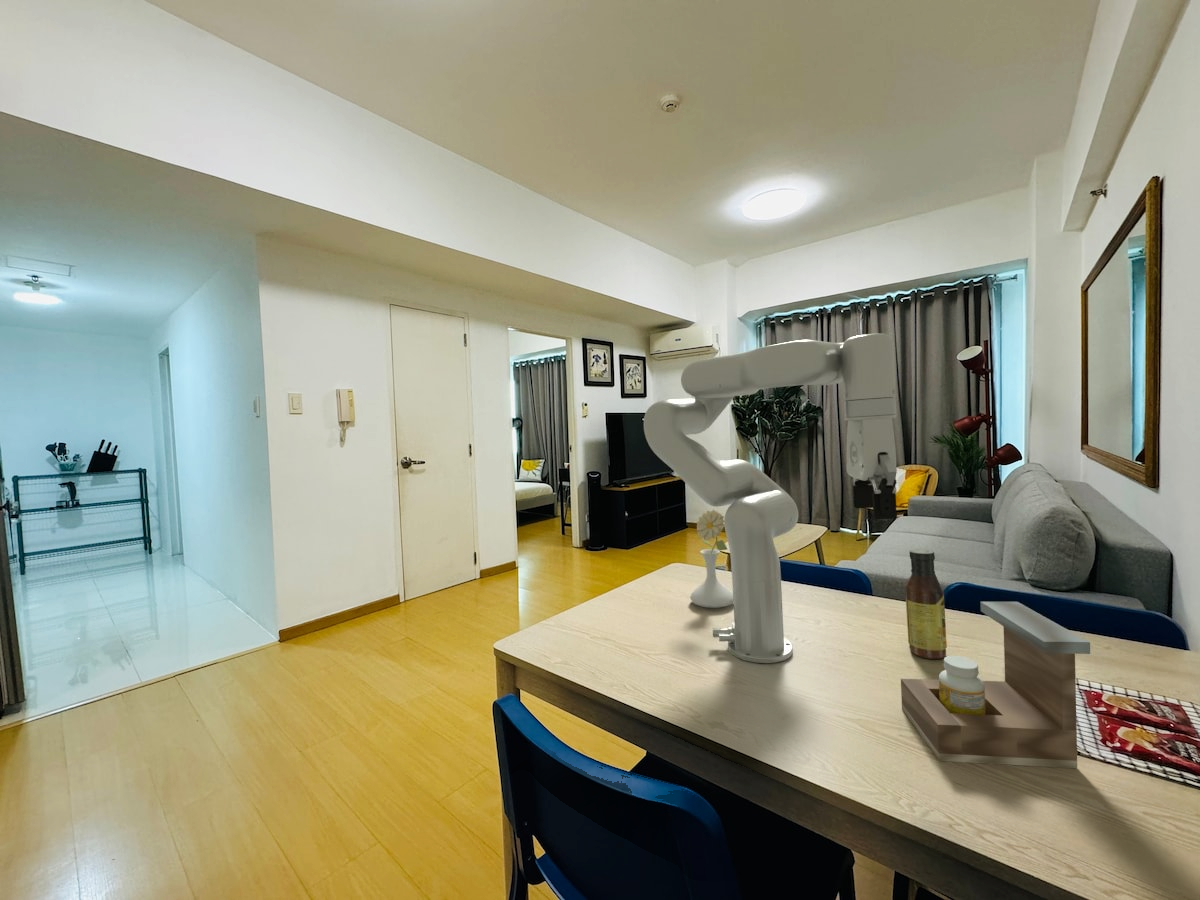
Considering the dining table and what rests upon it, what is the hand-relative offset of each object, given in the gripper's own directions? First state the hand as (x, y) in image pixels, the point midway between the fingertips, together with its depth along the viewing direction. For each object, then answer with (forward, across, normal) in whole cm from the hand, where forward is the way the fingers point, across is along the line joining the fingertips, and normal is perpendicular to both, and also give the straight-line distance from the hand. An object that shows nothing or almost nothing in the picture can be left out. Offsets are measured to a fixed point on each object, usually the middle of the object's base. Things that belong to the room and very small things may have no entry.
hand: (873, 512), depth 83 cm
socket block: (+30, +12, +10) cm, 34 cm away
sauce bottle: (+31, -14, +13) cm, 36 cm away
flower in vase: (+31, -39, -26) cm, 56 cm away
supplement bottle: (+30, +12, +7) cm, 32 cm away
